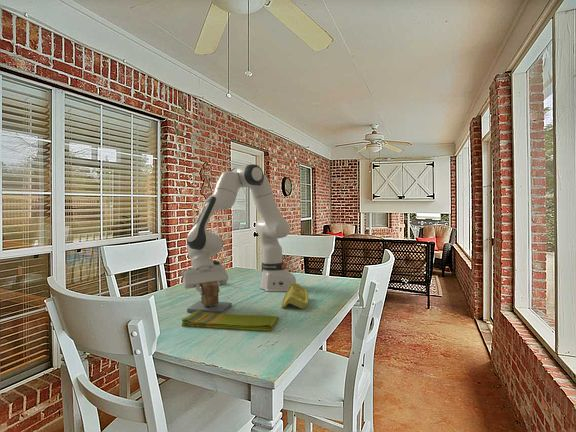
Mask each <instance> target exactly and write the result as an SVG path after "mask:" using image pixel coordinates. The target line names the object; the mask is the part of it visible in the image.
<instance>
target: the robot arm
mask: <svg viewBox="0 0 576 432" xmlns="http://www.w3.org/2000/svg"><path fill="white" fill-rule="evenodd" d="M269 181H270V180H269V179H268V177H267V176H266V175H265V174H264V171H263V169H262V168H261V167H260V166H259V164H252V163H251V164H245V165H240V166H237V167H234V168H233V169H232V168H231V169H230V170H225V171H223V172H222V173H221V174H220V175H219V178H218V180H217V183H216V185H215V188H214V192H213V193H212V195H211V196H209V197H207V198H206V199H205V200H204V203H203V204H202V207H201V208H200V211H199V212H198V214H197V217H196V219H195V222H194V223H193V225H192V227H191V228H190V229H189V231H188V233H187V235H186V243H187V245H186V246H187V249H186V250H187V256H188V257H189V260H190V261H191V263H190V264H191V267H192V268H187V269H186V268H185V269H183V270H182V271H181V273H180V275H181V278H182V280H183V281H182V283H183V287H184V289H186V290H187V289H195V290H196V291H197V292H199V295H200V296H201V295H204V290H203V289H201V284H202V283H209V282H216V283H218V293H220V292H221V289H220V287H221V286H220V285H222V284H223V285H224V284H226V283H227V282H228V280H229V274H228V273H227V270H226V268H225V267H224V266H223V262H222V261H220V260H213V259H211V258H212V257H214V256H216V255H218V253H220V252H221V251H222V249H223V247H224V238H222V236H221V235H218V234H216V233H213V232H211V231H208V230H207V226H208V224H209V221H210V220H211V217H212V215H213V214H214V213H215V212H216V211H226V210H229V209H231V208H232V207H233V206H234V205H235V203H236V199H237V196H238V192H239V189H241V188H249V189H250V190H251V196H252V198H253V202H254V205H255V209H256V212H257V213H258V214H259V215H260V216H261V218H259V219H258V220H257V221H256V222H255V225H254V228H255V232H256V233H257V235H258V236H259V240H260V245H261V249H262V252H261V255H262V261H261V281H260V285H259V289H262V290H264V291H266V292H287V290H288V289H289V287H290V285H291V284H292V283H295V284H297V285H299V286H301V285H300V284H299V283H297V280H296V279H297V278H296V276H295V274H293V273H291V272H290V271H289V270H288V269H286V268H287V267H286V266H287V263H286V262H283V248H282V246H281V244H280V242H279V239H282V238H283V239H284V238H286V237H287V236H288V235H290V232H291V225H290V223H289V221H288V220H286V218H285V217H284V216H283V214H282V213H281V210H280V209H279V207H278V205H277V202H276V199H275V196H274V192H273V189H272V185H271V184H270V182H269Z"/></svg>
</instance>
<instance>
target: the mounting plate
mask: <svg viewBox="0 0 576 432" xmlns="http://www.w3.org/2000/svg"><path fill="white" fill-rule="evenodd" d="M218 302H219V304H215V305H210V306H205V305H204V304H202V303H201V300H198V301H197V302H196V303H194V304H192V305H190V306H189V307H188V308H187V309H186V313H189V314H190V313H191V314H192V313H194V312H196V311H198V310H199V311H203V312H211V313H223V314H225V313H226V312H227V311H228V310H229V309H230V308H231V307H232V304H233V302H228V301H218Z"/></svg>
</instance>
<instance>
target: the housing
mask: <svg viewBox="0 0 576 432" xmlns="http://www.w3.org/2000/svg"><path fill="white" fill-rule="evenodd" d="M200 288H201V289H203V290H204V295H200V296H201V297H200V298H201V300H200V301H201V303H202V304H204V305H205V306H210V305H215V304H219V302H220V301H219V292H218V283H216V282H209V283H202V284H201V287H200Z"/></svg>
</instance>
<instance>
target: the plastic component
mask: <svg viewBox="0 0 576 432" xmlns="http://www.w3.org/2000/svg"><path fill="white" fill-rule="evenodd" d="M297 284H298V283H297ZM297 284H295V283H292V284H291V285H290V287H289V289H288V290H287V291H285V295H284V297H283V299H282V302H281V306H280V307H281V309H285V308H286V307H287V305H288V304H291V305H293V306H295V307H297V308H300V309H301V310H305V309H306V308H307V307H308V304H309V292H308V290H307V289H306V288H305V287H303V286H302V285H300V284H299V285H300V286H299V285H297Z"/></svg>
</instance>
